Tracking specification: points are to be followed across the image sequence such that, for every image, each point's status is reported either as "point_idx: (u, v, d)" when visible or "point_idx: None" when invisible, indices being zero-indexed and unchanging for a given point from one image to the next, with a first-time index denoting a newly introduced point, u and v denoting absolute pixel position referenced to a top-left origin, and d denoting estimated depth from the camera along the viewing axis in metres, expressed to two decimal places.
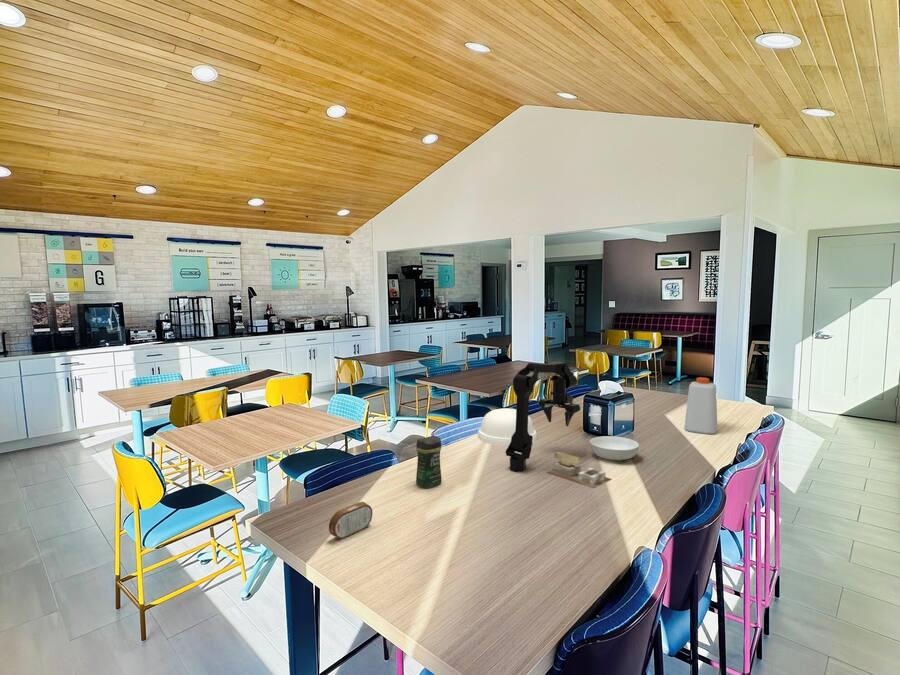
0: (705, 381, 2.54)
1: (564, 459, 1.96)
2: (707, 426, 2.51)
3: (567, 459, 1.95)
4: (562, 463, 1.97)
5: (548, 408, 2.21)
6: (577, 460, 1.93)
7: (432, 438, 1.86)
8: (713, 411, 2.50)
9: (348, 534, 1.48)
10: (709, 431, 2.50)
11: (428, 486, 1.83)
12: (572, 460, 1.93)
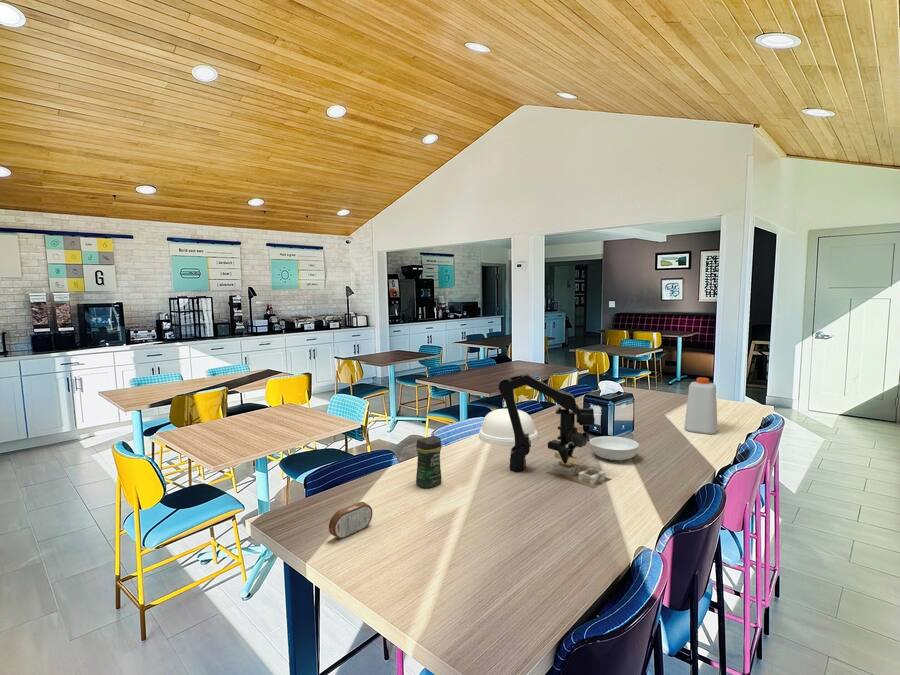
0: (705, 381, 2.54)
1: None
2: (707, 426, 2.51)
3: (567, 459, 1.95)
4: (562, 463, 1.97)
5: (567, 445, 1.98)
6: (577, 460, 1.93)
7: (432, 438, 1.86)
8: (713, 411, 2.50)
9: (348, 534, 1.48)
10: (709, 431, 2.50)
11: (428, 486, 1.83)
12: (572, 460, 1.93)
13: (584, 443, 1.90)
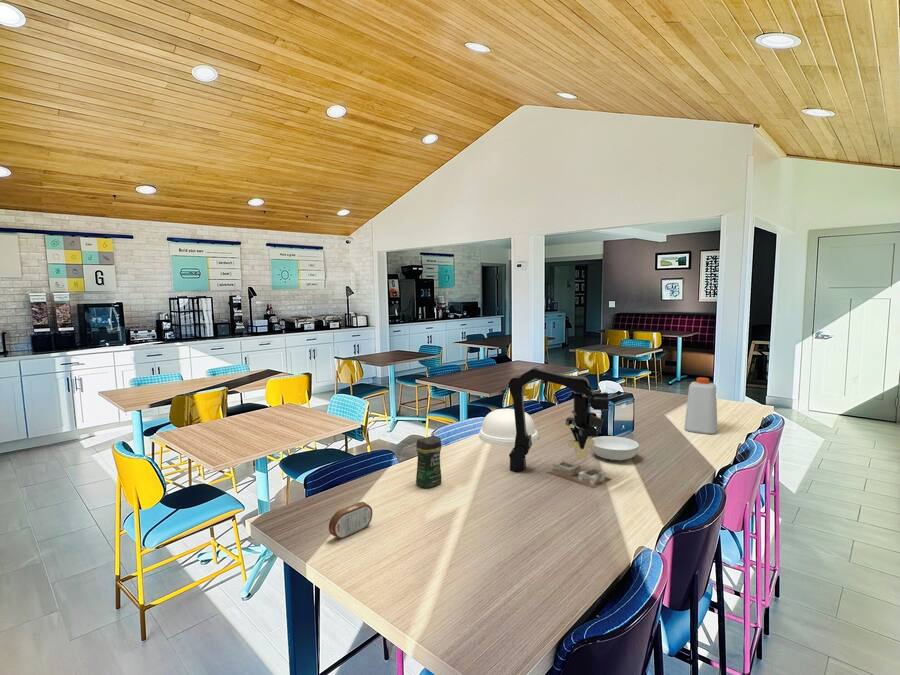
0: (705, 381, 2.54)
1: None
2: (707, 426, 2.51)
3: None
4: (578, 450, 1.90)
5: (577, 431, 1.92)
6: None
7: (432, 438, 1.86)
8: (713, 411, 2.50)
9: (348, 534, 1.48)
10: (709, 431, 2.50)
11: (428, 486, 1.83)
12: (590, 443, 1.91)
13: None
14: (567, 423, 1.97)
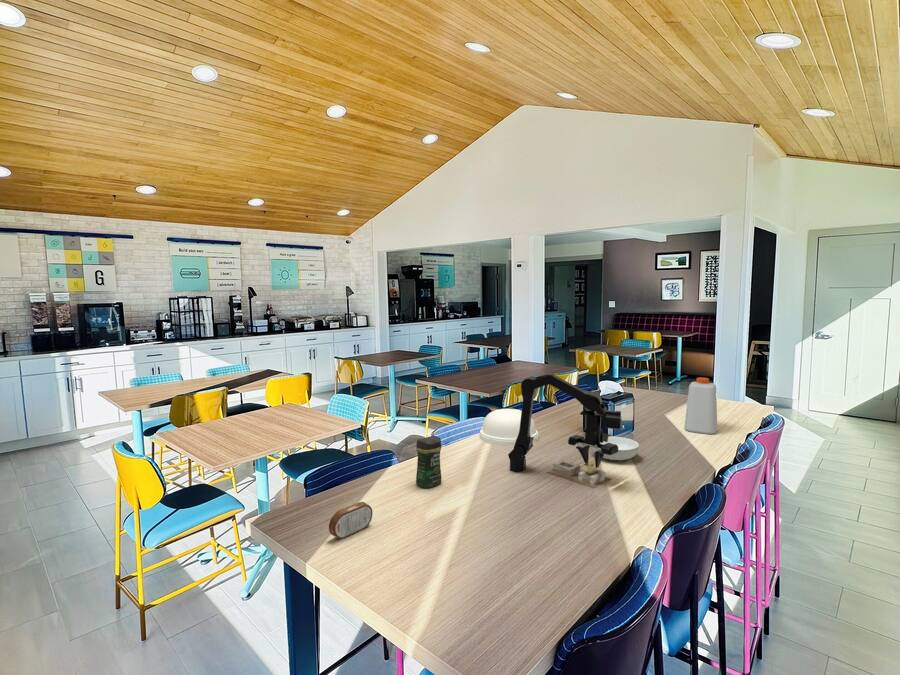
0: (705, 381, 2.54)
1: (593, 467, 1.87)
2: (707, 426, 2.51)
3: (595, 465, 1.88)
4: (592, 472, 1.87)
5: (585, 448, 1.89)
6: None
7: (432, 438, 1.86)
8: (713, 411, 2.50)
9: (348, 534, 1.48)
10: (709, 431, 2.50)
11: (428, 486, 1.83)
12: None
13: None
14: (572, 443, 1.90)
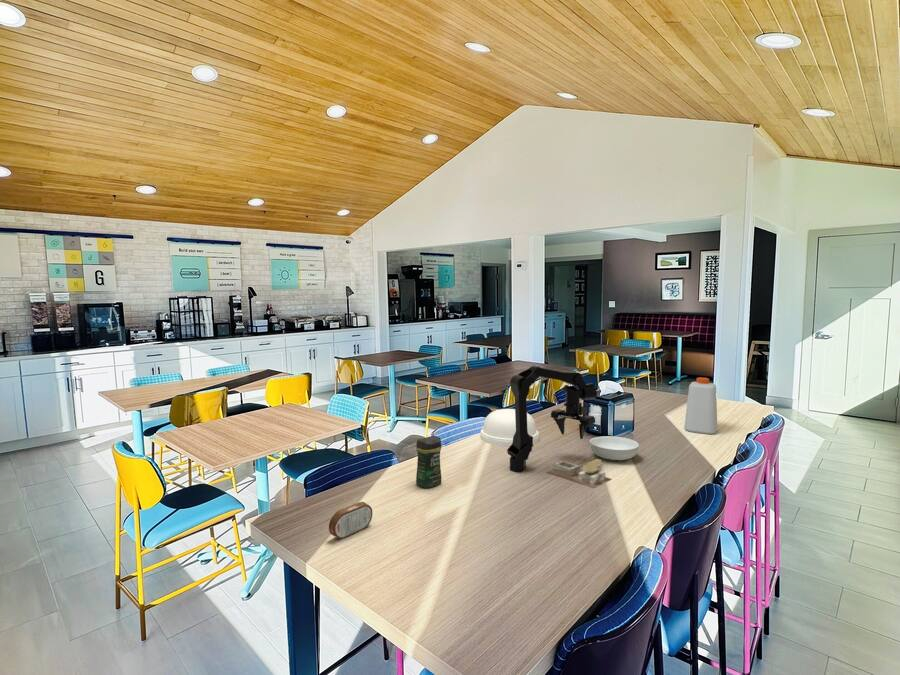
0: (705, 381, 2.54)
1: (593, 467, 1.87)
2: (707, 426, 2.51)
3: (595, 465, 1.88)
4: (592, 472, 1.87)
5: (561, 420, 2.11)
6: None
7: (432, 438, 1.86)
8: (713, 411, 2.50)
9: (348, 534, 1.48)
10: (709, 431, 2.50)
11: (428, 486, 1.83)
12: (599, 463, 1.89)
13: None
14: (554, 416, 2.10)
